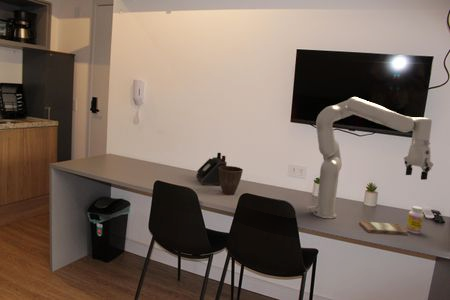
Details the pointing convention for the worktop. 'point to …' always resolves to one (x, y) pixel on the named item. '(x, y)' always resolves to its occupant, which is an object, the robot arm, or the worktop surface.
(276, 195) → the worktop surface
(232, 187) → the plant pot
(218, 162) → the voltmeter
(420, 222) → the supplement bottle
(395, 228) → the walnut board
